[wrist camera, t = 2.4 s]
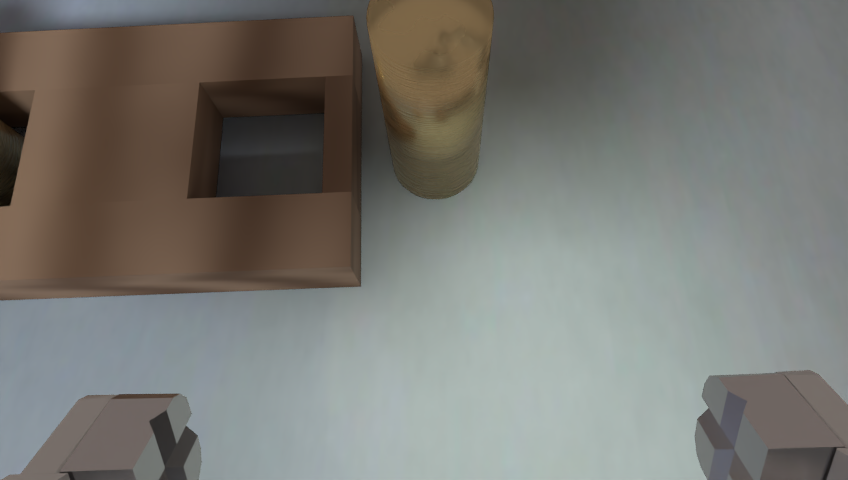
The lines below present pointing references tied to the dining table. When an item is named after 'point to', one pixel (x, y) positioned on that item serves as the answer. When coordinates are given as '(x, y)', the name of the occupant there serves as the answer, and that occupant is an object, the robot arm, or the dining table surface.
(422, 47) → the loose billet
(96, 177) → the wooden socket block
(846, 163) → the dining table surface
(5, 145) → the seated billet
